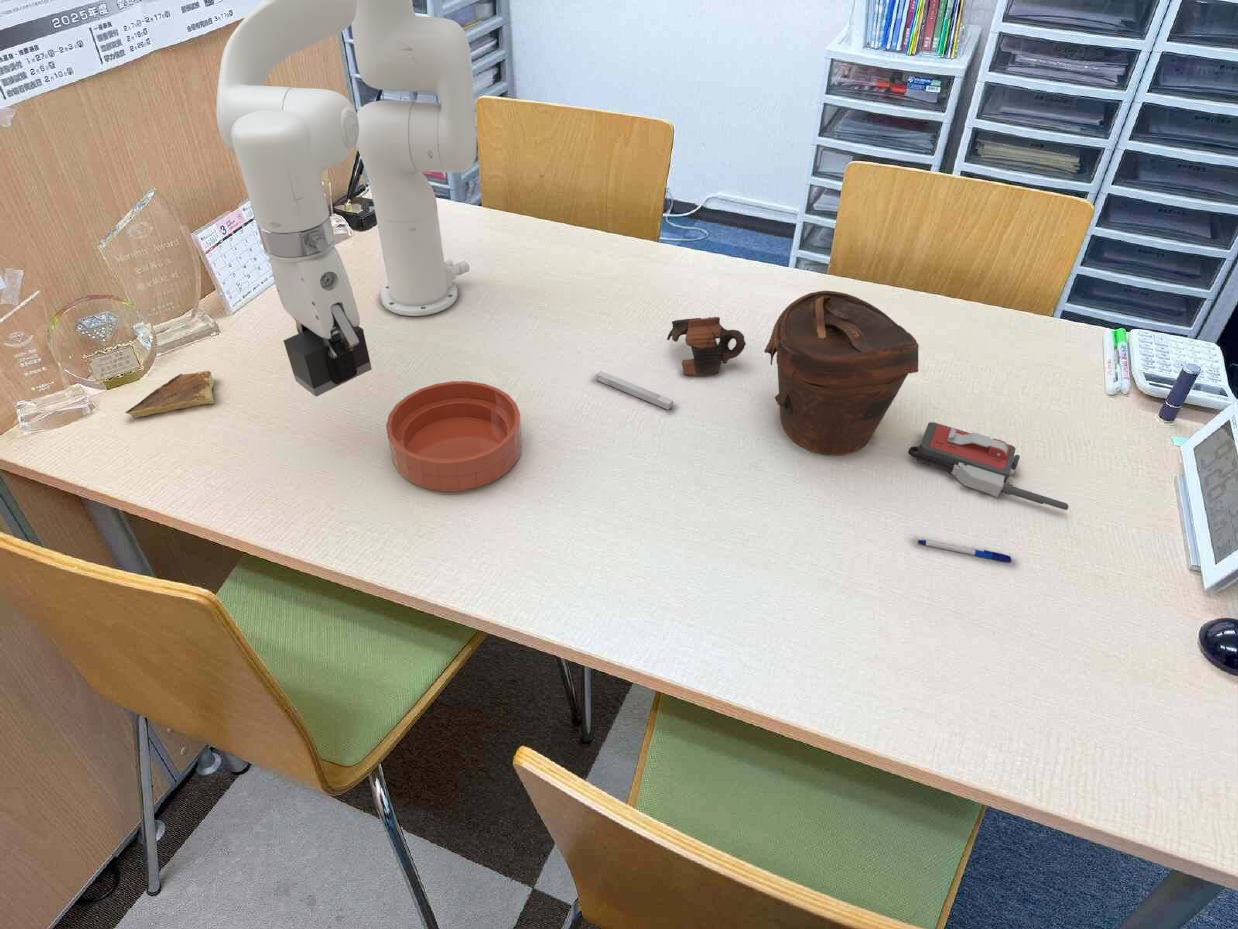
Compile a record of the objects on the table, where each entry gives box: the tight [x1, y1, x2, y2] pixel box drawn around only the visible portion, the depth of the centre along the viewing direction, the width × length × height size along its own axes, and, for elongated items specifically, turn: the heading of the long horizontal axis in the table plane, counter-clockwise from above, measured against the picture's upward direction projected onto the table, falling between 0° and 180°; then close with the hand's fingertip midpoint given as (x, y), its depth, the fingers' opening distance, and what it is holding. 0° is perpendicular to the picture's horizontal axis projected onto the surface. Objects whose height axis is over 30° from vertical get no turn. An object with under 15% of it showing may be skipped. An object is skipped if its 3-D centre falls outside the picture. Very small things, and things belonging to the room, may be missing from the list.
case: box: [764, 290, 920, 456], centre depth 109 cm, size 18×20×18 cm
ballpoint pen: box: [917, 539, 1012, 563], centre depth 97 cm, size 10×1×1 cm, turn 76°
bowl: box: [385, 380, 523, 492], centre depth 107 cm, size 17×17×6 cm
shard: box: [125, 370, 215, 419], centre depth 116 cm, size 11×8×2 cm
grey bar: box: [596, 370, 674, 411], centre depth 119 cm, size 12×1×1 cm, turn 56°
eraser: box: [283, 325, 373, 398], centre depth 100 cm, size 8×5×6 cm, turn 137°
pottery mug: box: [666, 316, 747, 376], centre depth 125 cm, size 12×10×8 cm
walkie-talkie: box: [907, 421, 1070, 511], centre depth 106 cm, size 9×4×20 cm
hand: (332, 368), depth 102 cm, fingers closed on eraser, 4 cm apart
